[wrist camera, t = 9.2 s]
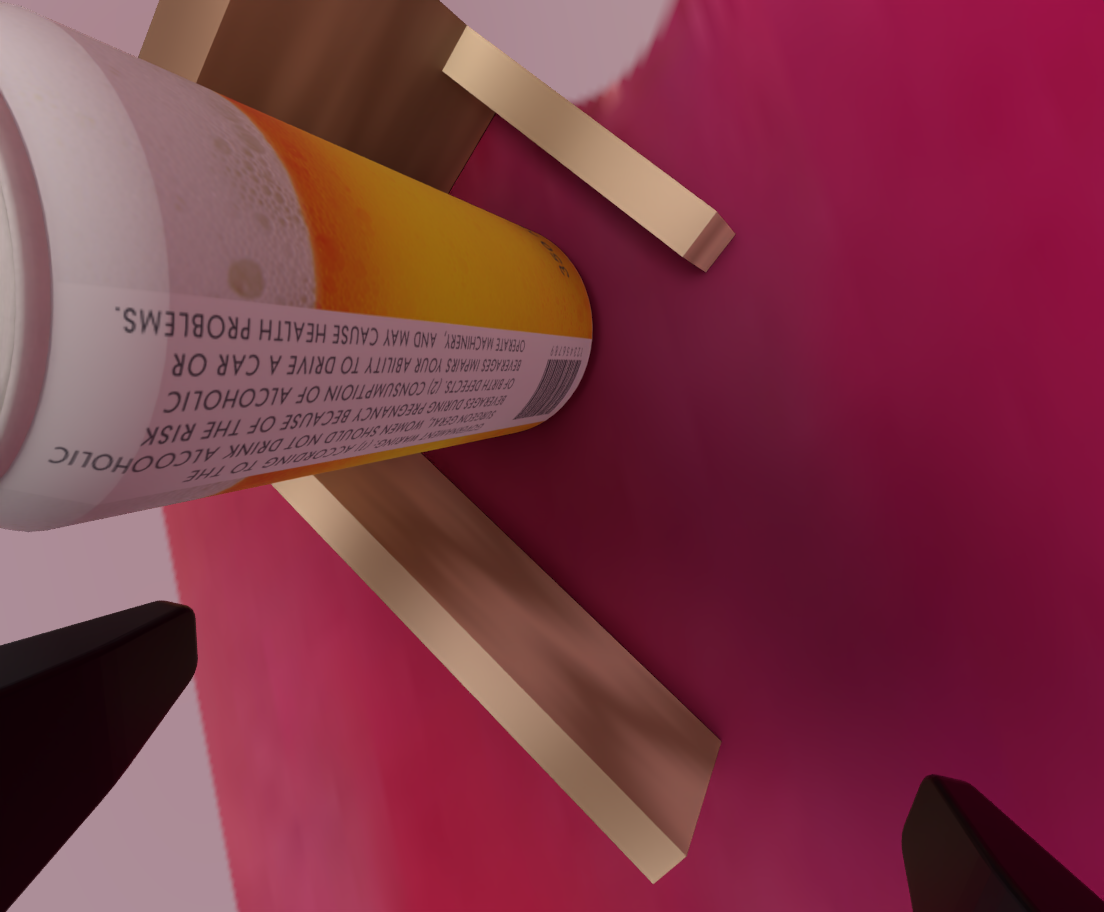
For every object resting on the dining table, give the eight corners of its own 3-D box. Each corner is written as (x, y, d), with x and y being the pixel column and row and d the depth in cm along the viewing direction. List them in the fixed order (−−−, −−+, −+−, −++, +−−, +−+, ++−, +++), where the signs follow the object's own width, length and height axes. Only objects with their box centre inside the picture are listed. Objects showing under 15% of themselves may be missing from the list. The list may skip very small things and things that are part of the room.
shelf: (1035, 458, 16) (1246, 564, 8) (695, 765, 20) (597, 1043, 12) (470, 36, 20) (212, -191, 12) (288, 367, 24) (7, 371, 16)
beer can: (463, 200, 21) (-268, -121, 7) (636, 277, 19) (108, 44, 5) (400, 380, 22) (-288, 403, 9) (552, 465, 21) (-12, 662, 7)
